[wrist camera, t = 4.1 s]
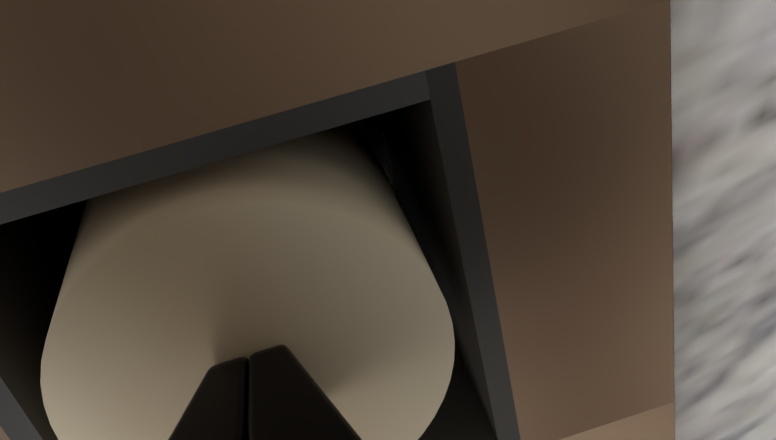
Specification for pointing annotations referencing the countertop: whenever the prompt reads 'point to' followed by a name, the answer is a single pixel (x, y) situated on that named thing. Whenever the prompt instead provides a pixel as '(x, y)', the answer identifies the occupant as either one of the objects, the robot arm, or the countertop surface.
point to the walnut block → (409, 168)
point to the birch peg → (249, 293)
